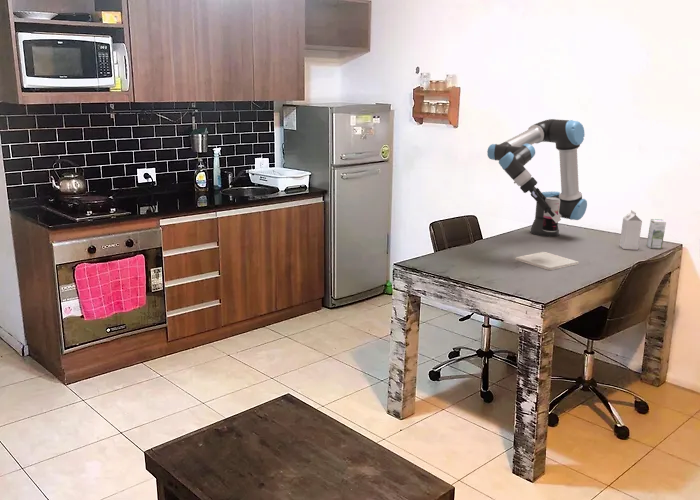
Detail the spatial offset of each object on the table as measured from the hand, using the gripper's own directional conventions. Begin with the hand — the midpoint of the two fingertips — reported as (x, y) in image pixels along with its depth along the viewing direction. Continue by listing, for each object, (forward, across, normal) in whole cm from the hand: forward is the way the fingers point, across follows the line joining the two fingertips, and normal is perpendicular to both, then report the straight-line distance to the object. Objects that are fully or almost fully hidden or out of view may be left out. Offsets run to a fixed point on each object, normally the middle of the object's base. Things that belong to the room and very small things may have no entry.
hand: (559, 219), depth 294 cm
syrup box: (+48, -51, +19) cm, 72 cm away
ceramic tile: (+12, 0, -17) cm, 21 cm away
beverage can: (+1, 0, -7) cm, 7 cm away
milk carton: (+39, -44, +10) cm, 60 cm away
